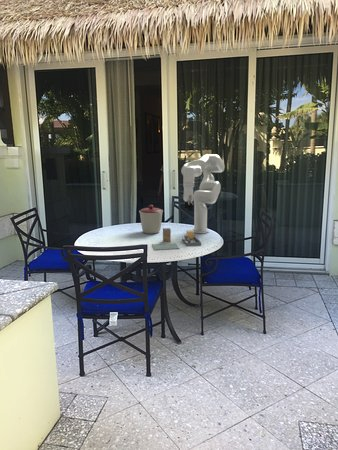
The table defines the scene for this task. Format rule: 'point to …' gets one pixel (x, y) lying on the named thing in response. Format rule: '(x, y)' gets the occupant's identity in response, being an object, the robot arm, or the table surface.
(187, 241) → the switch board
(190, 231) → the tan orange cube block
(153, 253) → the table surface
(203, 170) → the robot arm
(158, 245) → the tool mat
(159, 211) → the canister
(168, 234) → the brown rectangular block
